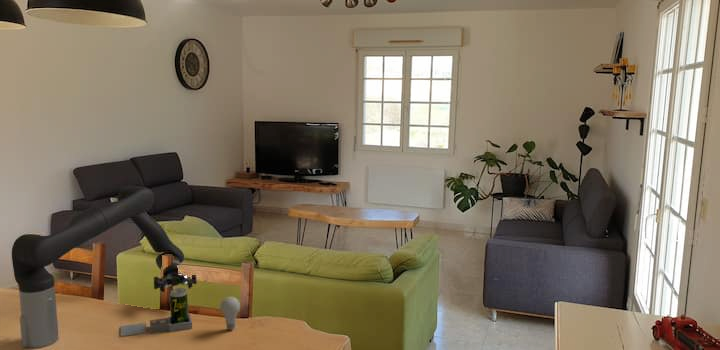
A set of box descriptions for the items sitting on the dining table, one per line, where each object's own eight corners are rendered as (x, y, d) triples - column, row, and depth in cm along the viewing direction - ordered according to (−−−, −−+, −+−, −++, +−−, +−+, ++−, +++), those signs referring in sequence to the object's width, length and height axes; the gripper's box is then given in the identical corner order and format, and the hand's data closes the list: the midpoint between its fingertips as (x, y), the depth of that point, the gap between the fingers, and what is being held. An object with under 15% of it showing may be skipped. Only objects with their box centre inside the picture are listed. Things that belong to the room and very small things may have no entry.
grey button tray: (150, 334, 174) (150, 326, 173) (150, 325, 180) (149, 317, 180) (192, 328, 179) (191, 320, 178) (189, 320, 185) (189, 312, 185)
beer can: (169, 324, 182) (168, 289, 180) (186, 321, 184) (185, 286, 182) (172, 330, 177) (171, 295, 175) (190, 327, 179) (188, 292, 177)
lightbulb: (243, 326, 181) (242, 294, 179) (237, 334, 175) (236, 301, 173) (224, 325, 182) (224, 293, 180) (218, 333, 176) (217, 300, 174)
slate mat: (120, 337, 172) (120, 335, 172) (120, 327, 179) (120, 326, 179) (146, 333, 175) (146, 332, 175) (145, 323, 182) (145, 322, 182)
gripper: (152, 265, 201) (154, 280, 186) (192, 260, 206) (197, 274, 191) (153, 284, 202) (155, 301, 187) (193, 279, 207) (198, 295, 193)
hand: (176, 287), depth 189 cm, fingers open, 8 cm apart
